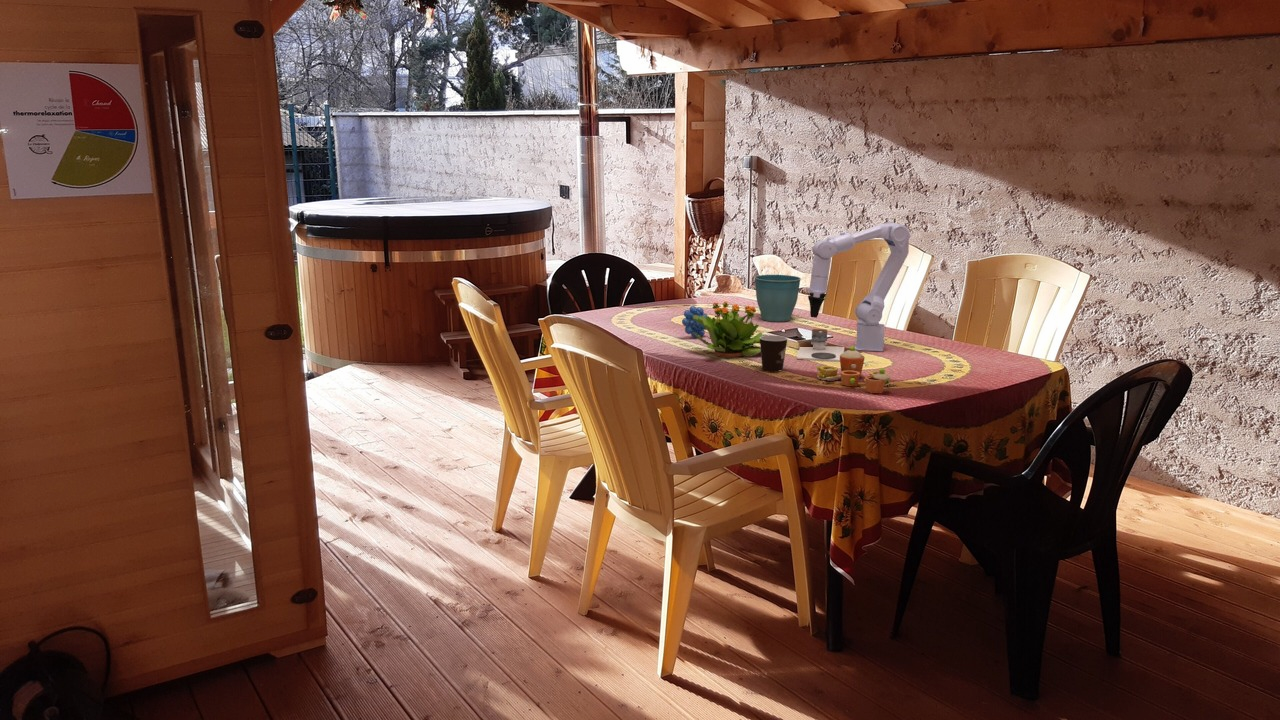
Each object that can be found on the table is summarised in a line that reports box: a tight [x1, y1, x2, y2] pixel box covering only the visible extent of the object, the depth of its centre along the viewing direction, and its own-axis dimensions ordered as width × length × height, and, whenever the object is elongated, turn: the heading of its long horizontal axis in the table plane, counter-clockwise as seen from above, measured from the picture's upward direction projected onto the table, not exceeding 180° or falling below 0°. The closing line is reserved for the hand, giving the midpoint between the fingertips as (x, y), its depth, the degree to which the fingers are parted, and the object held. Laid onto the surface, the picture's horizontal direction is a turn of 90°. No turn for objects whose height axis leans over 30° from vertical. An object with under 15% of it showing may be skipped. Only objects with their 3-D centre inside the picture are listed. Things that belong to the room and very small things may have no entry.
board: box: [796, 341, 845, 363], centre depth 319 cm, size 15×20×4 cm
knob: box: [811, 328, 828, 343], centre depth 323 cm, size 5×5×4 cm
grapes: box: [681, 305, 708, 339], centre depth 342 cm, size 12×7×12 cm, turn 123°
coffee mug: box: [759, 334, 788, 372], centre depth 299 cm, size 12×9×10 cm
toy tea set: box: [816, 345, 892, 394], centre depth 282 cm, size 26×16×10 cm, turn 34°
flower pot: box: [754, 274, 802, 323], centre depth 377 cm, size 18×18×17 cm
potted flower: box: [692, 300, 768, 358], centre depth 317 cm, size 25×24×18 cm
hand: (814, 315), depth 323 cm, fingers open, 7 cm apart
